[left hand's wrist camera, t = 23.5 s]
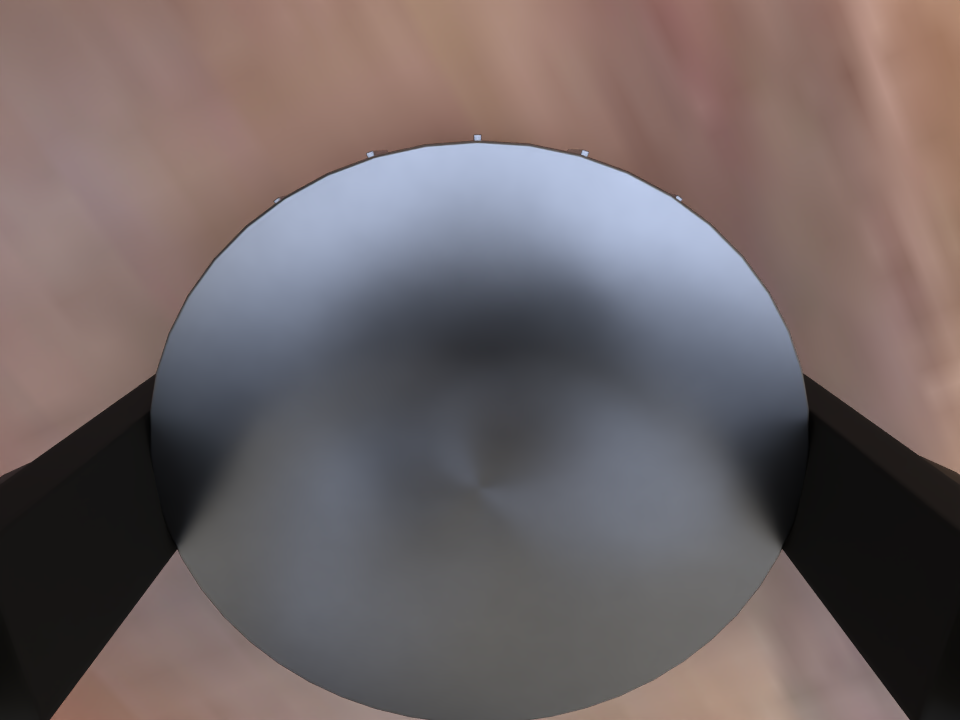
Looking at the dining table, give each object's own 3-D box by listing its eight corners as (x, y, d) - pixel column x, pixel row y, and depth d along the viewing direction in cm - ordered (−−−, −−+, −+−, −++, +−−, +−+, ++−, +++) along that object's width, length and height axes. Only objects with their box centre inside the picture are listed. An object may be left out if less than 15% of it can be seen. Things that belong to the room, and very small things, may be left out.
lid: (804, 134, 10) (883, 131, 8) (717, 645, 14) (756, 726, 12) (151, 137, 10) (72, 136, 8) (245, 646, 14) (206, 729, 12)
